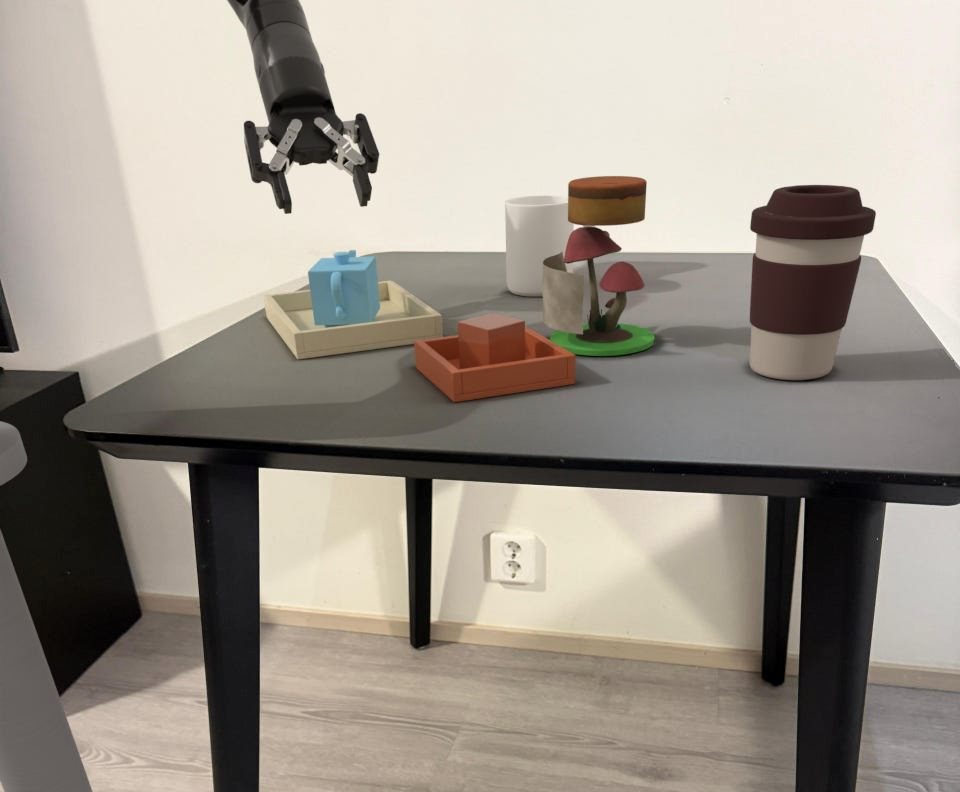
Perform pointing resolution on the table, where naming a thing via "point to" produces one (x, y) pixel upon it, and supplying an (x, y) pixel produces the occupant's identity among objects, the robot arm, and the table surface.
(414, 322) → the cream tray
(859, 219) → the coffee cup
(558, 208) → the mug
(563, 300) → the mushroom figurine
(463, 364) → the clay block
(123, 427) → the table surface
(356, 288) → the teapot
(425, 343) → the terracotta tray
